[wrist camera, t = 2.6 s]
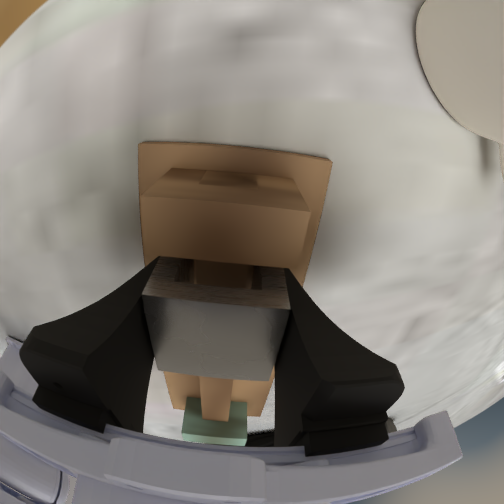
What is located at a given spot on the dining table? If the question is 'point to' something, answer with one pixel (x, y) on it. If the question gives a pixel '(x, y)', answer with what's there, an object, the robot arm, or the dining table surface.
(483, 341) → the dining table surface
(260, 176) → the rail
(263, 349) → the keeper
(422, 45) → the cup
